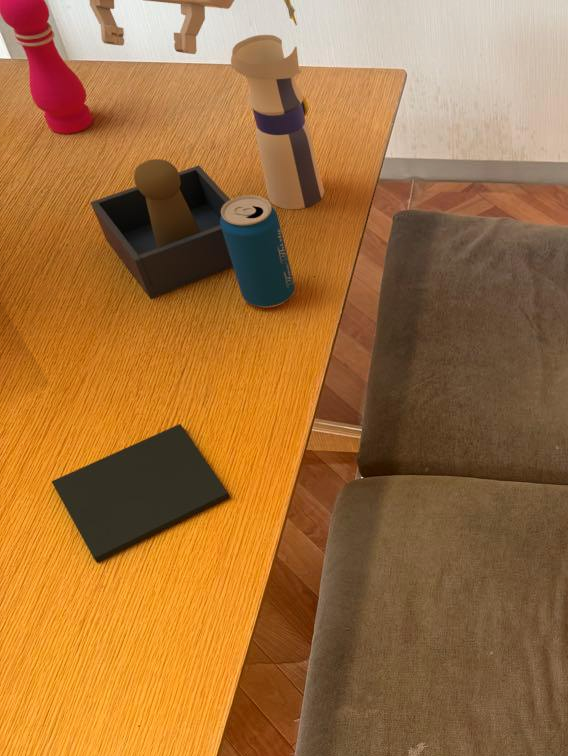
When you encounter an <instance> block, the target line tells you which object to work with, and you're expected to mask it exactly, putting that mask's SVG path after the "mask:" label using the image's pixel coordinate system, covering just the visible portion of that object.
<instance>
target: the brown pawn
mask: <svg viewBox="0 0 568 756" xmlns="http://www.w3.org/2000/svg"><path fill="white" fill-rule="evenodd" d="M178 172H179V170H178V169H177V168H176V166H175V165H174V164H172V163H171V161H168V160H165V159H159V158H158V159H157V158H154V159H148V160H146V161H144V162H142V163H140V164H139V165H138V166H137V167H135V171H134V174H133V179H134V184H135V187H136V186H137V188H138V190H139V191H140V192H141V193H142V194H143V195H144V196H145V198H146V202H147V207H148V211H149V216H150V220H151V225H152V229H153V234H154V238H155V243H156V247H157V248H160V247H163V246H165V245H168V244H171V243H173V242H176V241H179V240H182V239H184V238H187V237H190V236H192V235H195V234H198V233H201V232H200V230H199V228H198V226H197V224H196V222H195V220H194V218H193V216H192V214H191V212H190V209H189V207H188V205H187V203H186V201H185V199H184V197H183V195H182V193H181V191H180V189H179V188H180V185H181V182H180V176H179V173H178Z"/></svg>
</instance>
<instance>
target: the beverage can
mask: <svg viewBox="0 0 568 756" xmlns="http://www.w3.org/2000/svg"><path fill="white" fill-rule="evenodd" d="M220 225H221V228H222V232H223V235H224V238H225V241H226V245H227V248H228V251H229V255H230V258H231V261H232V264H233V267H232V268H233V271H234V273H235V278H236V280H237V283H238V288H239V290H240V293H241V297H242V298H243V300H244V301H245V302H246V303H247V304H250V305H252V306H255V307H259V308H263V309H268V308H269V309H270V308H275V307H278V306H281V305H283V304H284V303H285V302H287V301H288V300H289V299H290V298H291V297H292V296H293V294H294V293H295V289H296V286H295V285H296V284H295V281H294V277H293V273H292V269H291V265H290V260H289V256H288V252H287V249H286V245H285V239H284V236H283V233H282V228H281V224H280V220H279V216H278V213H277V211H276V209H275V208H274V207H273V206H272V203H271V202H270V201H269V199H268V198H267V199H266V198H265V197H263V196H260V195H255V194H245V195H239V196H236V197H233V198H231V199H230V200H229V201H228V202H226V203H225V204H224V205H223V207H222V209H221V218H220Z"/></svg>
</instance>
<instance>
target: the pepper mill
mask: <svg viewBox="0 0 568 756" xmlns="http://www.w3.org/2000/svg"><path fill="white" fill-rule="evenodd" d="M0 16H1V18H2V20H3V21H4V22H5V24H6V25H8V26H9V27H10V28H12V35H13V36H14V37H15V41H16V43H17V44H19V45H20V46H21V47H22V48H23V51H24V52H25V56H26V58H27V63H28V69H29V71H28V72H29V91H30V94H31V98H32V101H33V103H34V104H35V106H36V107H37V108H39V109H40V110H41V111H42V112H44V119H45V121H46V124H47V127H48V128H49V129H50V130H51V131H52V132H55V133H57V134H60V135H61V134H63V135H68V134H69V135H70V134H75V133H79V132H81V131H85V130H86V129H88V128H89V127H90V126H91V125H92V123H93V121H94V120H93V116H92V113H91V111H90V108H89V106H88V105H87V104H85V103H86V99H87V92H86V89H85V86H84V84H83V83H82V81H81V79H80V77H78V75H77V74H76V73H75V72H74V71H73V70H72V69H71V68H70V66H68V64H66V62H65V60H63V58H62V56H61V55H60V53H59V50H58V48H57V47H56V43H55V41H54V38H55V32H54V31H53V27H52V25H51V24H50V23H49V22H48V21H49V18H50V10H49V5H48V4H47V3H46V0H0Z"/></svg>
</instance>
